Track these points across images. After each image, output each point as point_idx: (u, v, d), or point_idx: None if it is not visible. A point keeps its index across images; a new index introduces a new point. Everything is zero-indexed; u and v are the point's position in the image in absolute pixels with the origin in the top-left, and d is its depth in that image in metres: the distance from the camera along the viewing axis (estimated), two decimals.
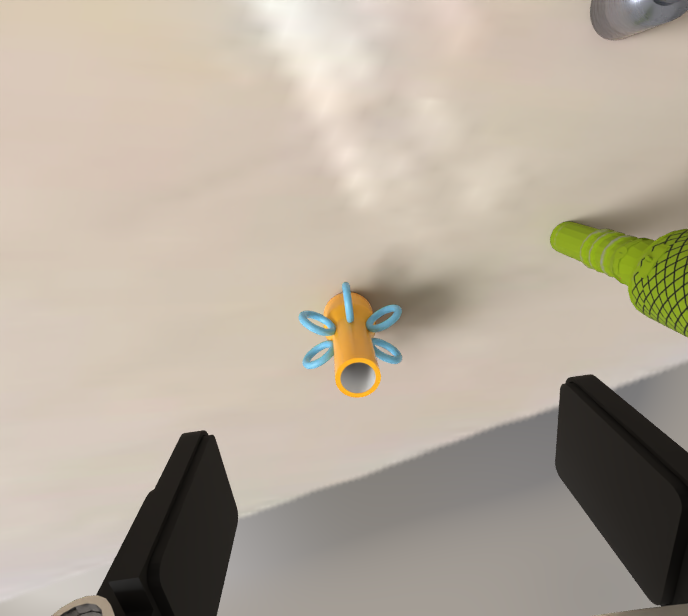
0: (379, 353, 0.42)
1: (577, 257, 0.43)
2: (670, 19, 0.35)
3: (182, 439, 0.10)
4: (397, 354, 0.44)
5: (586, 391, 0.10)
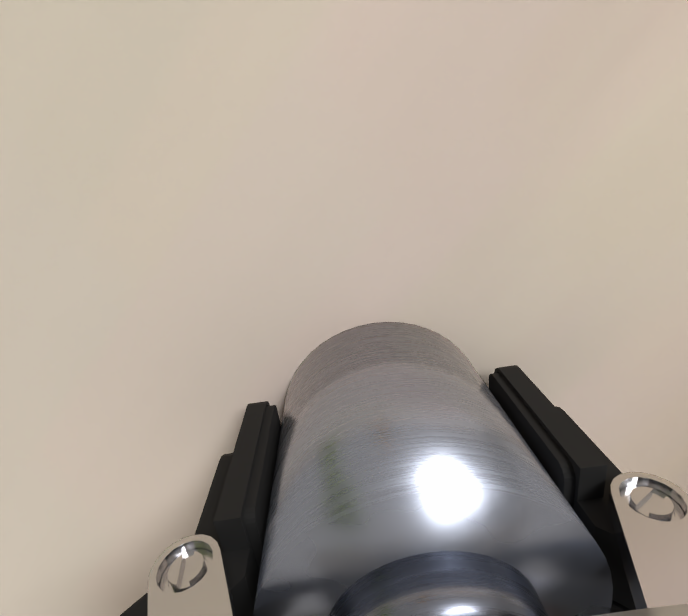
0: None
1: None
2: (263, 602, 0.06)
3: (249, 408, 0.11)
4: None
5: (507, 380, 0.10)
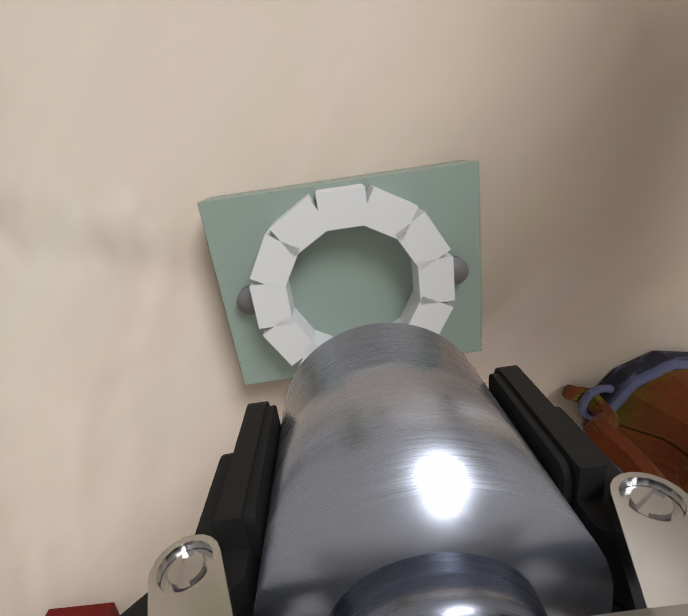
0: None
1: None
2: (262, 604, 0.06)
3: (249, 408, 0.11)
4: None
5: (507, 380, 0.10)
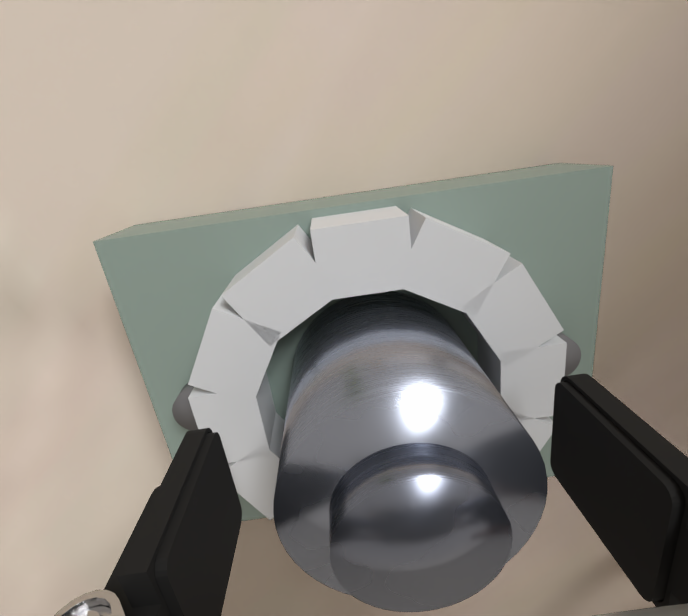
0: None
1: None
2: (282, 483, 0.08)
3: (187, 436, 0.10)
4: None
5: (580, 390, 0.10)
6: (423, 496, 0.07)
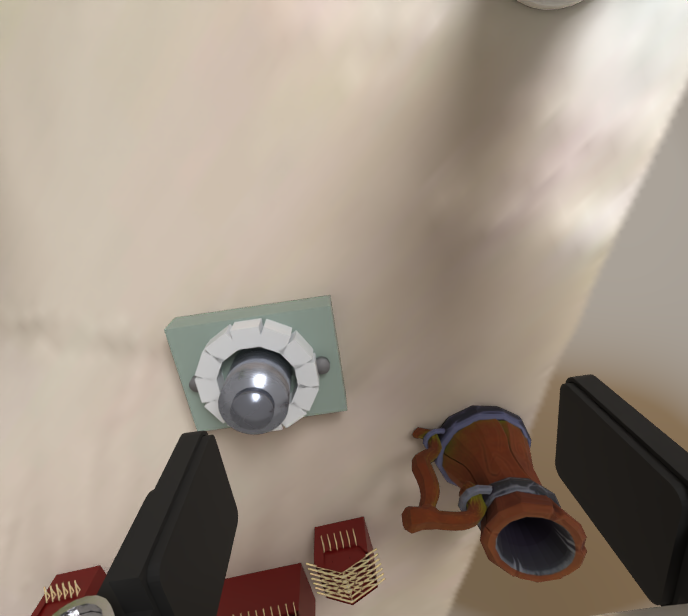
0: None
1: None
2: (220, 396, 0.34)
3: (182, 439, 0.10)
4: None
5: (586, 391, 0.10)
6: (251, 397, 0.34)
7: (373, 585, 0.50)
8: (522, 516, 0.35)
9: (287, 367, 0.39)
